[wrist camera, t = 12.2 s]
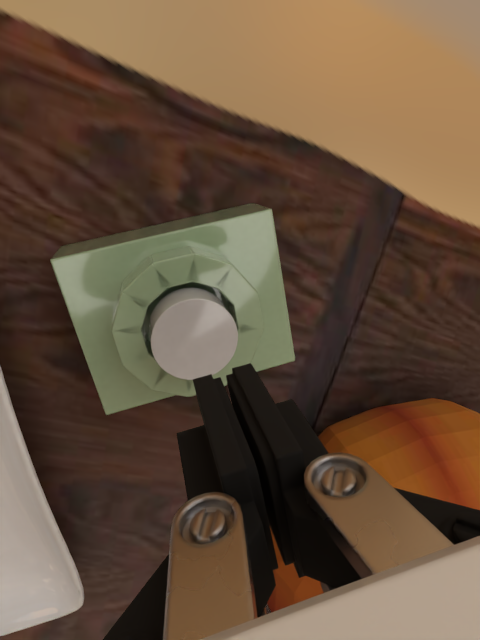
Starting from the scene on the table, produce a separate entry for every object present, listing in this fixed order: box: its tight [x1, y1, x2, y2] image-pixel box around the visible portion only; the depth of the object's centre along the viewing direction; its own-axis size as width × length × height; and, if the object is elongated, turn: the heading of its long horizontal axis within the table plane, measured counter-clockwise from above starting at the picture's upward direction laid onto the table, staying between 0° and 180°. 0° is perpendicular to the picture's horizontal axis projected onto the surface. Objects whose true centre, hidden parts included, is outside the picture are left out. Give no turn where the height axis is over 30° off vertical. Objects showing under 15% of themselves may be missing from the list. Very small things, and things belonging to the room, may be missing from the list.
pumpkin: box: [267, 398, 480, 613], centre depth 25 cm, size 19×19×15 cm
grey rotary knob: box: [149, 287, 238, 380], centre depth 19 cm, size 4×4×2 cm
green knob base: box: [50, 203, 295, 415], centre depth 21 cm, size 10×8×5 cm
